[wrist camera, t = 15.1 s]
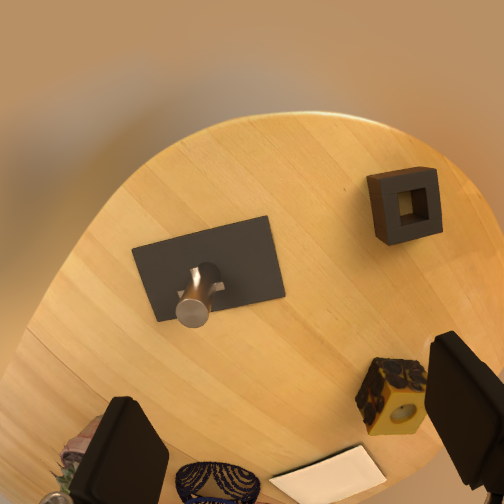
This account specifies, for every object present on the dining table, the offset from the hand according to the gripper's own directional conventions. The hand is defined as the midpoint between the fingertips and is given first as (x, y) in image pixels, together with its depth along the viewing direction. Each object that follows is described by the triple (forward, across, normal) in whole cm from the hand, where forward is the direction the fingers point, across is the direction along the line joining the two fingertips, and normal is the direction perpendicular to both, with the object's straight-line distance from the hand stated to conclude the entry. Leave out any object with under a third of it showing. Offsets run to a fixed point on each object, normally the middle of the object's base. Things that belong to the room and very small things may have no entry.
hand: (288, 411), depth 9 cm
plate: (+36, -2, +65) cm, 74 cm away
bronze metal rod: (+35, +10, +7) cm, 37 cm away
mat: (+36, +10, +7) cm, 38 cm away
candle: (+36, -15, +35) cm, 52 cm away
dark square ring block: (+36, -19, +3) cm, 41 cm away
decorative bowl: (+36, +25, +60) cm, 74 cm away
